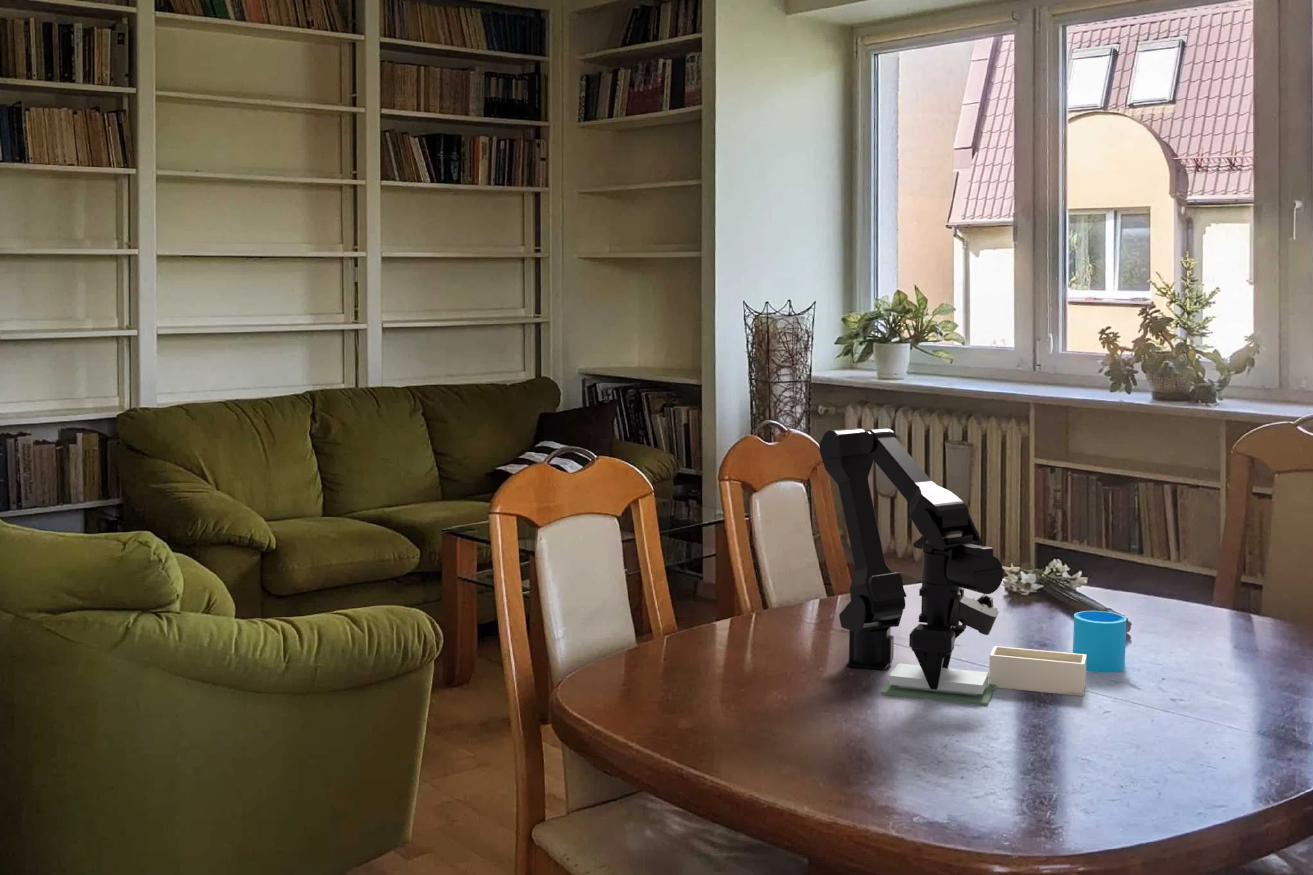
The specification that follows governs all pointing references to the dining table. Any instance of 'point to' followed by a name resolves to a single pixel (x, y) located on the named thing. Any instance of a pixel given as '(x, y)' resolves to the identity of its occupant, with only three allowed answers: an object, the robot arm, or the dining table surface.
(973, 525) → the robot arm
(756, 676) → the dining table surface
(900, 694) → the felt mat
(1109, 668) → the mug
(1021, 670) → the pencil box
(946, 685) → the lid
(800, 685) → the dining table surface
